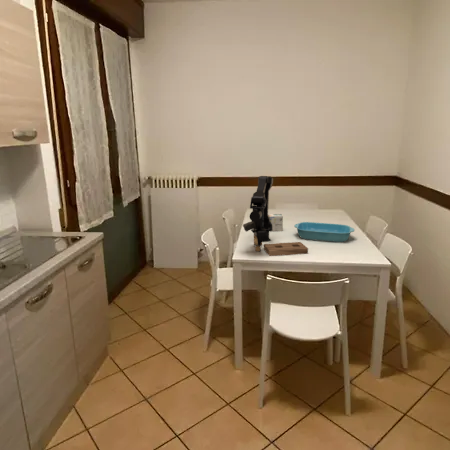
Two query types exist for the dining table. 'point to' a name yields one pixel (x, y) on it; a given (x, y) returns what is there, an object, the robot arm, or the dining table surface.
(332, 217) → the dining table surface
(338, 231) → the casserole dish
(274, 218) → the light bulb box
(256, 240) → the oak peg
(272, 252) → the walnut board
